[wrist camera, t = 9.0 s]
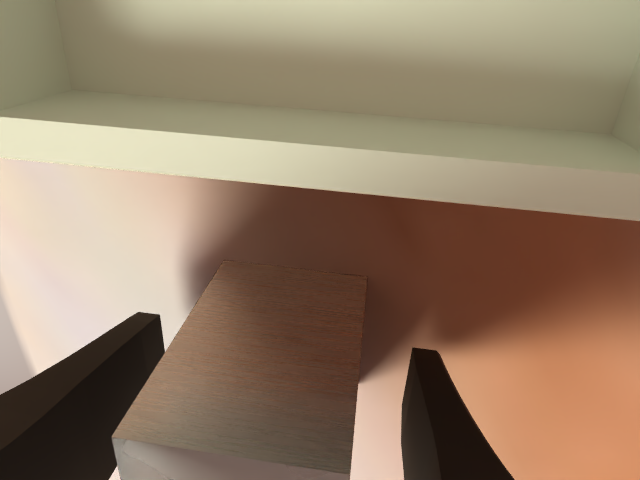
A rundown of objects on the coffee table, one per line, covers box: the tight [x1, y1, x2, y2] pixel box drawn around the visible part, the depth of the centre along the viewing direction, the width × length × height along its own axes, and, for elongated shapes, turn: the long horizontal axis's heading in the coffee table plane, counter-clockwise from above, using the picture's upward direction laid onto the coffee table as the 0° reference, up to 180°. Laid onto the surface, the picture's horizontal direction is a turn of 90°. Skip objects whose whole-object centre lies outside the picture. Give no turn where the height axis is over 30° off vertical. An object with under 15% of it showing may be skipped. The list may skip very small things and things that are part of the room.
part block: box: [111, 260, 367, 480], centre depth 11 cm, size 4×4×6 cm
